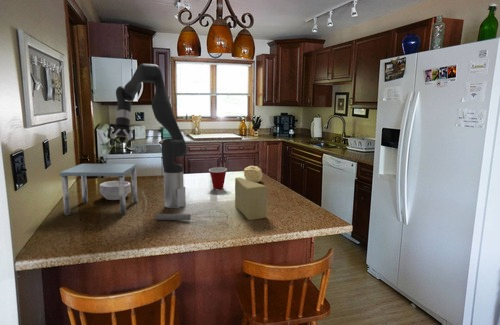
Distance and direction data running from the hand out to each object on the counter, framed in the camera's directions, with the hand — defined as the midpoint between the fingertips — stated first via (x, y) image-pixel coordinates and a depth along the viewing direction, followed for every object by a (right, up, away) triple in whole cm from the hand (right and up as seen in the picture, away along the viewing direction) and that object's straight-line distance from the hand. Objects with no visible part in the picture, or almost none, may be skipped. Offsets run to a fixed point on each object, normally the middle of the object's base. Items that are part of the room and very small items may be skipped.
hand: (120, 146), depth 186 cm
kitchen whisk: (+45, -35, -40) cm, 70 cm away
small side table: (0, -31, -23) cm, 38 cm away
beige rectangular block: (+69, -32, -26) cm, 80 cm away
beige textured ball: (+73, -22, +37) cm, 84 cm away
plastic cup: (+51, -25, +18) cm, 60 cm away
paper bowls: (-1, -28, -5) cm, 28 cm away
